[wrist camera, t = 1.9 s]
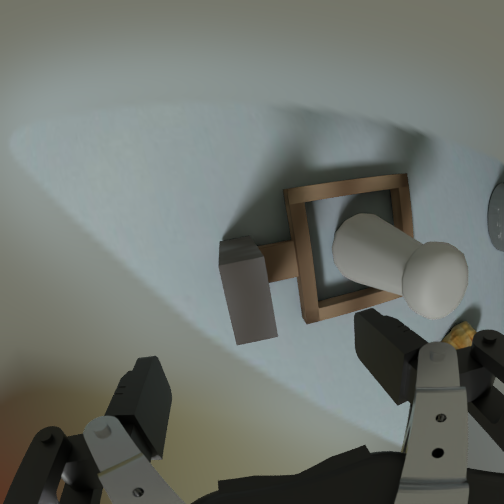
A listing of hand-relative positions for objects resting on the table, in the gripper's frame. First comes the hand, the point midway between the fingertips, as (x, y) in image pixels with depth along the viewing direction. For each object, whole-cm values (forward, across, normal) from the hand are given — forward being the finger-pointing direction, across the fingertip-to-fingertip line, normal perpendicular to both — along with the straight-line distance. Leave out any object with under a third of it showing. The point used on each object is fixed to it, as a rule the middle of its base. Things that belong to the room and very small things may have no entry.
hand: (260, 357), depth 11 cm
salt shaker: (+14, -10, 0) cm, 18 cm away
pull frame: (+13, -8, 0) cm, 15 cm away
